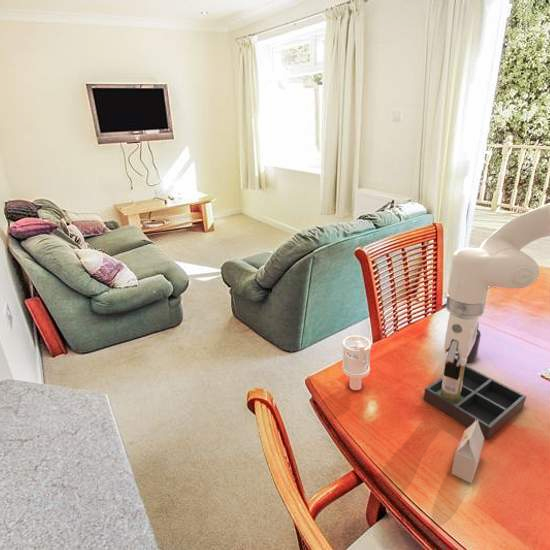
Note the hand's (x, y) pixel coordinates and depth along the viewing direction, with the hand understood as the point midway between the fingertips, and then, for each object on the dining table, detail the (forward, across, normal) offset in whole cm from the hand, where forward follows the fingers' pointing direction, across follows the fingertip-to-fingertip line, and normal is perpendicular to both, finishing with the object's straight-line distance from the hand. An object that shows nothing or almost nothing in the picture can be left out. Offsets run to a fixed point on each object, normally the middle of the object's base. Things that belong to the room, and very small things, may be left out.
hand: (454, 370), depth 90 cm
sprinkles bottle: (+9, 0, 0) cm, 9 cm away
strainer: (+10, -8, +22) cm, 25 cm away
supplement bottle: (+10, +21, +2) cm, 23 cm away
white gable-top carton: (+10, -18, -8) cm, 21 cm away
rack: (+9, +2, -5) cm, 11 cm away
